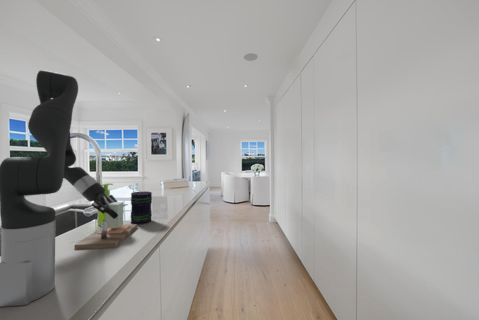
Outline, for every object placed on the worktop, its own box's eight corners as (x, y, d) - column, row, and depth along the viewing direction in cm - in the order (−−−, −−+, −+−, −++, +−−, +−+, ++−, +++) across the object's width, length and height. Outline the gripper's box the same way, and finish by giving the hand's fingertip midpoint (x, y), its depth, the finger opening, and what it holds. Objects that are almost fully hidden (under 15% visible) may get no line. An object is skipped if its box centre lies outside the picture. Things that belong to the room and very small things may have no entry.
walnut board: (115, 247, 76) (116, 243, 76) (74, 249, 74) (74, 244, 74) (137, 227, 98) (137, 224, 98) (105, 228, 96) (105, 225, 96)
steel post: (105, 238, 80) (105, 222, 80) (99, 238, 80) (100, 222, 80) (107, 236, 82) (108, 220, 82) (102, 236, 82) (102, 220, 82)
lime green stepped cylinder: (116, 221, 106) (116, 183, 106) (106, 226, 99) (107, 184, 99) (105, 221, 106) (106, 182, 106) (95, 225, 99) (95, 184, 99)
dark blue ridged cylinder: (141, 218, 113) (141, 191, 113) (155, 220, 110) (156, 192, 110) (125, 223, 104) (126, 193, 103) (141, 225, 100) (142, 195, 100)
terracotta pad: (121, 233, 86) (121, 232, 86) (97, 233, 85) (97, 233, 85) (129, 226, 95) (129, 225, 95) (108, 226, 94) (108, 226, 94)
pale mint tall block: (118, 227, 88) (118, 204, 88) (105, 228, 87) (105, 204, 87) (123, 224, 93) (123, 202, 93) (111, 224, 92) (111, 202, 92)
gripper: (86, 184, 82) (118, 213, 83) (105, 180, 96) (132, 205, 98) (71, 197, 81) (104, 227, 83) (92, 191, 95) (120, 216, 97)
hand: (119, 215), depth 90 cm, fingers closed on pale mint tall block, 4 cm apart
